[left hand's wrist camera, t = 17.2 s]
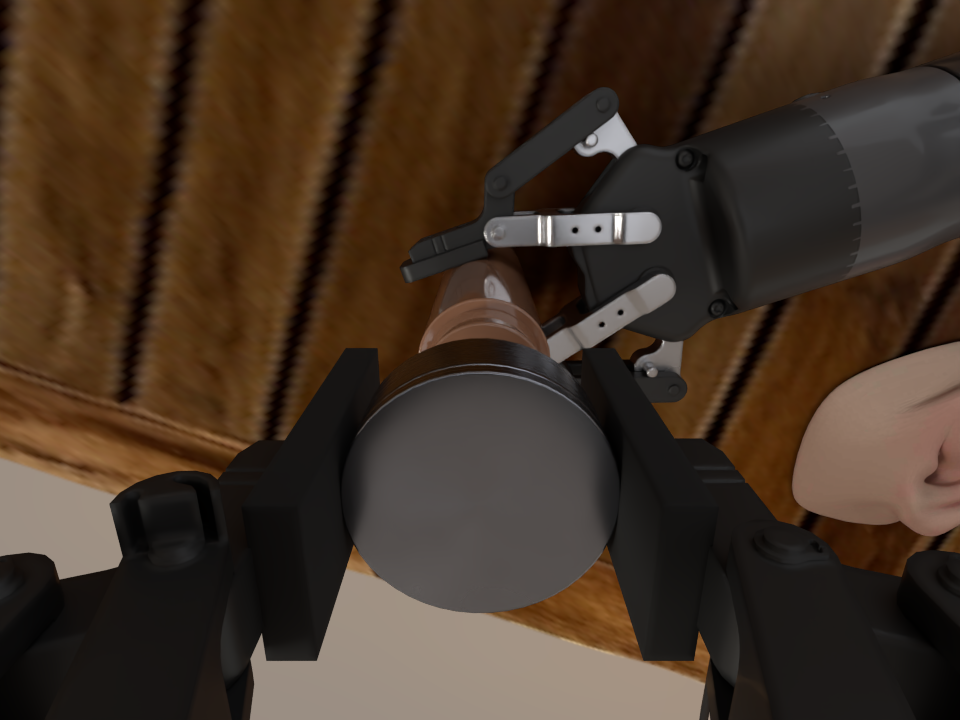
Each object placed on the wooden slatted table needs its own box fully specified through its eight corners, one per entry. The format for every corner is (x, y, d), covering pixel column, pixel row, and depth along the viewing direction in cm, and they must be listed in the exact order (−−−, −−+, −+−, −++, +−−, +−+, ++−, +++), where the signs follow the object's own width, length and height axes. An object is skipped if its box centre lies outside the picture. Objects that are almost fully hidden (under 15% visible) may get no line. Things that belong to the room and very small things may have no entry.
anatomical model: (826, 578, 34) (827, 396, 30) (791, 536, 37) (788, 369, 34) (1069, 542, 33) (1101, 350, 29) (1008, 502, 36) (1030, 328, 33)
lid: (639, 379, 11) (668, 421, 10) (551, 575, 13) (562, 640, 11) (395, 303, 11) (379, 333, 9) (334, 517, 13) (311, 575, 11)
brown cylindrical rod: (451, 315, 33) (424, 454, 17) (440, 241, 31) (400, 322, 16) (525, 305, 33) (563, 438, 17) (516, 230, 31) (549, 302, 16)
